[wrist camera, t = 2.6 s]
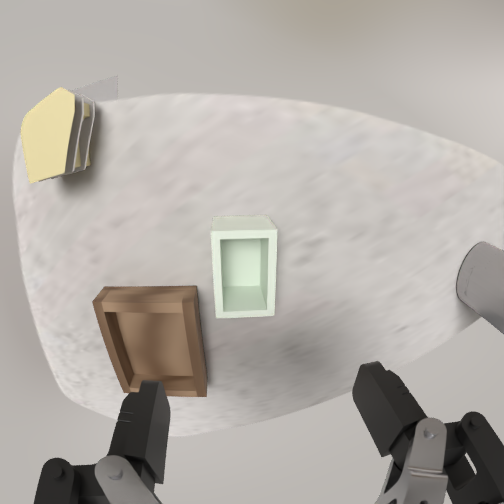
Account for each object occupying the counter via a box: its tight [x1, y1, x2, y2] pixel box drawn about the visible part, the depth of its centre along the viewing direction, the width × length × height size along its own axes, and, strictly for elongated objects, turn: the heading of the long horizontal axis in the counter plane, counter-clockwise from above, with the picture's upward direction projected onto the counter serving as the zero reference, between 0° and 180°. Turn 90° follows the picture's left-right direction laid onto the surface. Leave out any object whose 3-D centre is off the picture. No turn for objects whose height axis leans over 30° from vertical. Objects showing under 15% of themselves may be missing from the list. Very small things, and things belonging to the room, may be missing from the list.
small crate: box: [211, 215, 277, 318], centre depth 23 cm, size 5×7×5 cm, turn 0°
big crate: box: [93, 286, 207, 397], centre depth 26 cm, size 10×12×3 cm
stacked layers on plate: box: [21, 76, 118, 183], centre depth 17 cm, size 10×9×6 cm
